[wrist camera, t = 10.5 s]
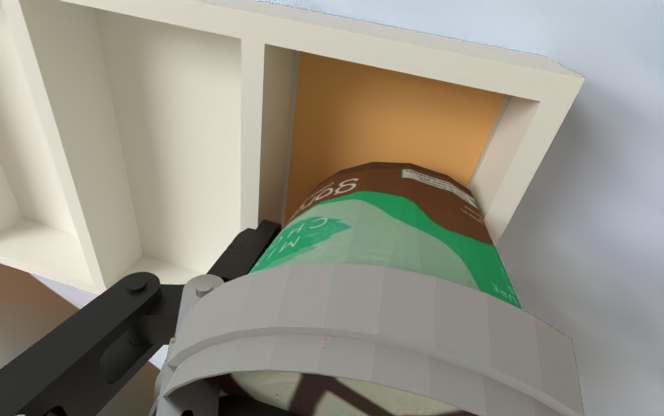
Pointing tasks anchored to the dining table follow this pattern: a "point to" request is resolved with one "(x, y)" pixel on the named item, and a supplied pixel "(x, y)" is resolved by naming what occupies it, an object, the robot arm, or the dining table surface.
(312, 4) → the dining table surface
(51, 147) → the cream compartment tray
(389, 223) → the food container
